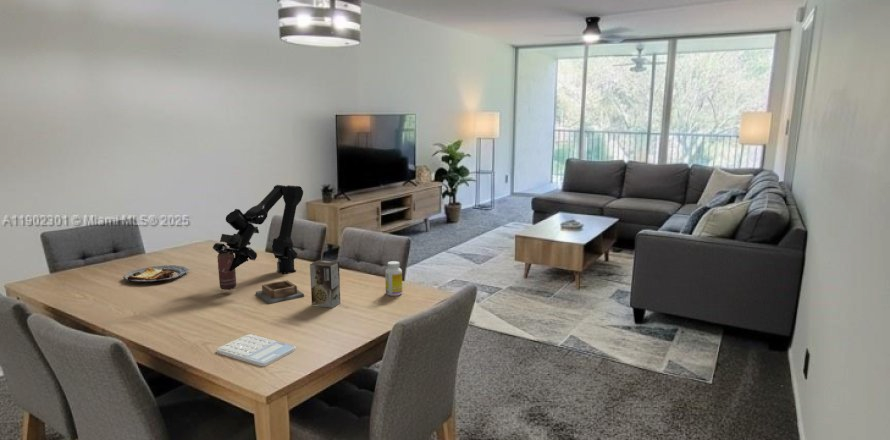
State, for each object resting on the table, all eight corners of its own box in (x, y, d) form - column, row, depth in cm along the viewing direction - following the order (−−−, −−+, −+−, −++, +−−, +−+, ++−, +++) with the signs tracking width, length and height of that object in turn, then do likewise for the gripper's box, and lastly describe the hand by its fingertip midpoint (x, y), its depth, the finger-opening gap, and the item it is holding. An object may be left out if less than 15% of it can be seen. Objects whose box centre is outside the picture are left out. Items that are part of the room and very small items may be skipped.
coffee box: (341, 302, 204) (340, 261, 201) (332, 308, 198) (331, 266, 195) (320, 300, 207) (318, 259, 204) (310, 305, 201) (309, 263, 198)
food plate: (168, 286, 221) (167, 277, 221) (112, 285, 222) (111, 277, 221) (197, 270, 246) (196, 263, 245) (146, 270, 246) (146, 262, 246)
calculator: (250, 338, 172) (249, 332, 172) (297, 351, 163) (297, 345, 163) (215, 353, 161) (214, 347, 160) (264, 368, 151) (263, 362, 151)
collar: (289, 287, 221) (289, 278, 220) (304, 296, 210) (303, 286, 210) (255, 294, 213) (255, 284, 212) (268, 303, 202) (268, 293, 201)
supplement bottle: (405, 292, 217) (405, 261, 214) (397, 297, 211) (396, 265, 208) (390, 290, 219) (390, 259, 217) (382, 294, 213) (382, 263, 211)
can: (239, 285, 216) (237, 251, 214) (231, 290, 210) (229, 255, 208) (225, 284, 217) (222, 250, 214) (217, 289, 211) (214, 255, 208)
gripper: (214, 223, 216) (193, 256, 208) (249, 227, 209) (229, 262, 201) (230, 238, 225) (211, 270, 217) (265, 243, 217) (247, 276, 209)
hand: (224, 269), depth 211 cm, fingers closed on can, 5 cm apart
